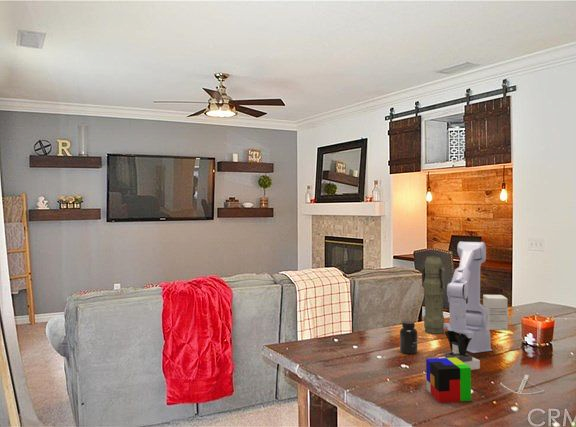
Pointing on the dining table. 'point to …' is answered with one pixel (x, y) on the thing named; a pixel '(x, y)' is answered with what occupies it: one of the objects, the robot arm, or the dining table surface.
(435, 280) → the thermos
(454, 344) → the lens
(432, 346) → the dining table surface
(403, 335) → the supplement bottle
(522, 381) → the crossbow
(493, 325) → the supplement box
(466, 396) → the puzzle toy
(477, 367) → the camera body
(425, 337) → the dining table surface
